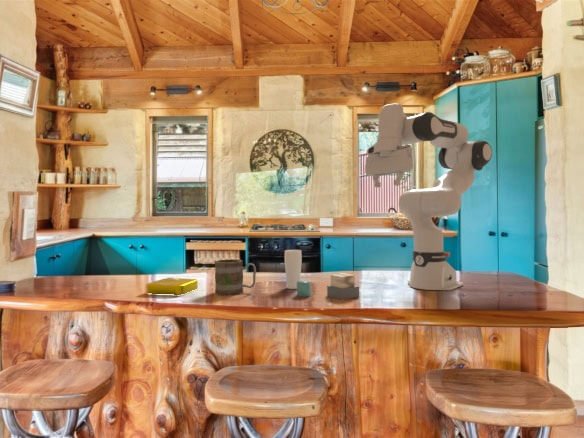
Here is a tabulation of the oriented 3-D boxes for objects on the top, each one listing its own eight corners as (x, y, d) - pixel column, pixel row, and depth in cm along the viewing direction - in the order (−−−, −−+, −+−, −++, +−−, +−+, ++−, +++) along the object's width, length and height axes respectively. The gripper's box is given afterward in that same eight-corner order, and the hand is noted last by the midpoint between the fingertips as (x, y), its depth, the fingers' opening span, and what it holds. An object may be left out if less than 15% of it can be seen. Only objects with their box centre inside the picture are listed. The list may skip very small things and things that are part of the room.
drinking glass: (304, 289, 159) (303, 251, 159) (287, 290, 157) (287, 251, 157) (298, 286, 165) (298, 249, 165) (282, 287, 163) (282, 250, 163)
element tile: (143, 296, 151) (143, 283, 151) (165, 288, 166) (165, 276, 165) (180, 297, 147) (180, 284, 147) (199, 289, 162) (199, 277, 162)
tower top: (342, 283, 150) (342, 273, 150) (354, 286, 145) (354, 275, 145) (330, 285, 146) (330, 274, 146) (342, 288, 142) (342, 276, 141)
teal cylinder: (304, 293, 151) (304, 280, 151) (313, 295, 147) (313, 281, 147) (294, 295, 148) (294, 281, 148) (302, 297, 144) (302, 283, 144)
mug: (211, 295, 149) (211, 263, 148) (217, 289, 159) (217, 259, 159) (254, 295, 148) (254, 262, 148) (257, 289, 159) (257, 259, 159)
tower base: (343, 294, 151) (343, 283, 151) (359, 297, 145) (359, 286, 145) (327, 296, 147) (327, 285, 146) (342, 300, 140) (342, 289, 140)
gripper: (418, 145, 140) (415, 185, 139) (375, 153, 157) (373, 189, 156) (405, 142, 136) (403, 183, 136) (363, 150, 153) (361, 187, 153)
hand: (386, 186), depth 146 cm, fingers open, 8 cm apart
